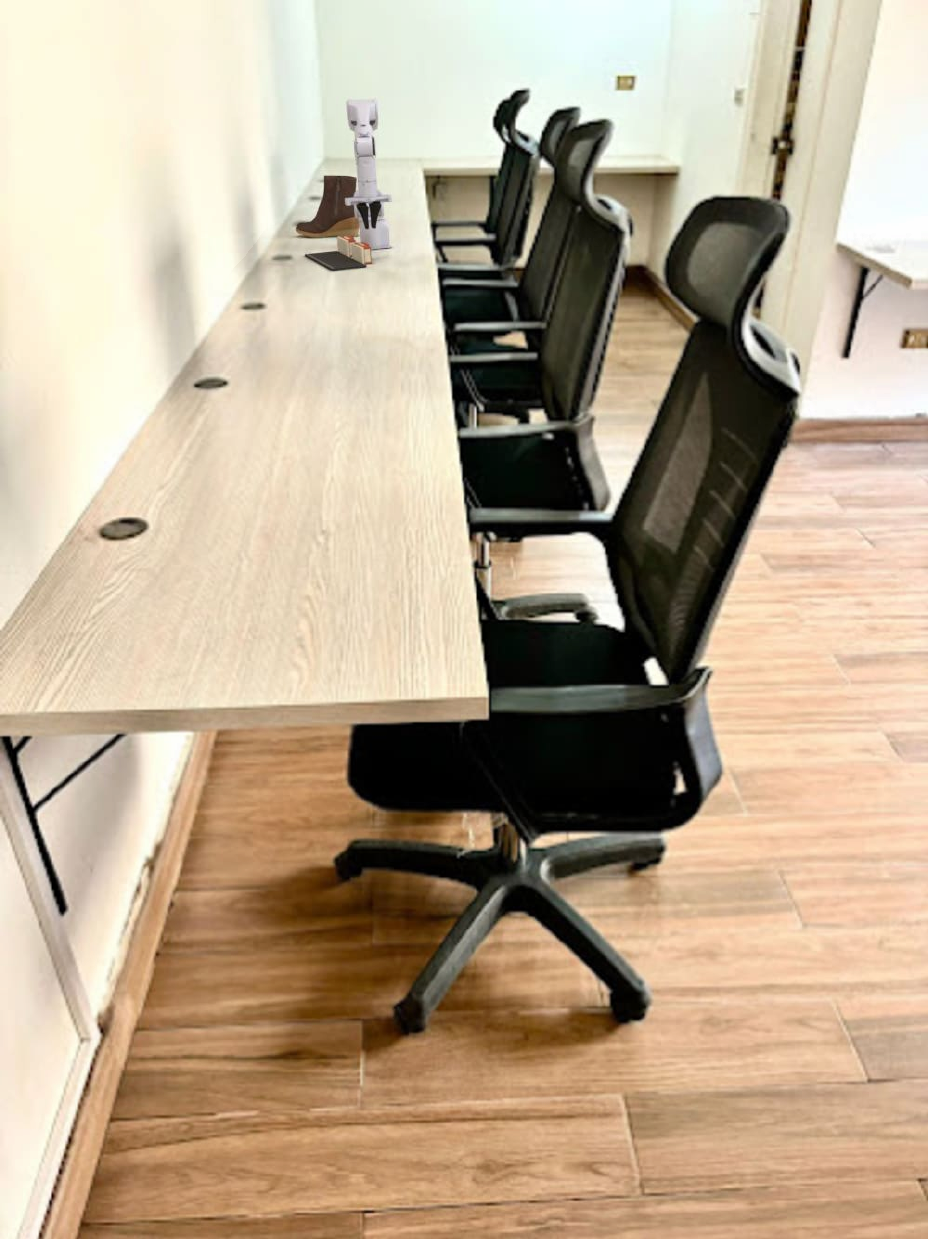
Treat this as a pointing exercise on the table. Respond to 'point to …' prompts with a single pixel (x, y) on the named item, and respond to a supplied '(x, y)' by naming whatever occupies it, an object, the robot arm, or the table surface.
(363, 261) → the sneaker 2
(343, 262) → the shoe mat
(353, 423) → the table surface
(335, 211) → the boot
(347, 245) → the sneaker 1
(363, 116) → the robot arm
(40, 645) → the table surface
